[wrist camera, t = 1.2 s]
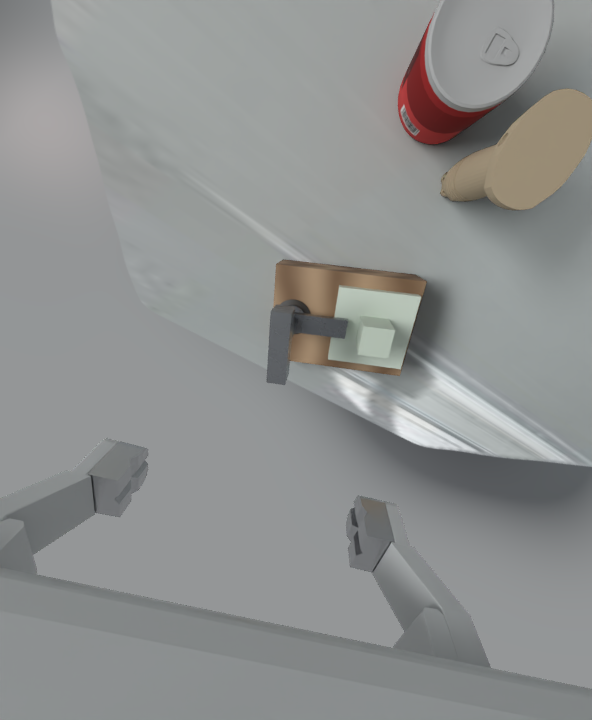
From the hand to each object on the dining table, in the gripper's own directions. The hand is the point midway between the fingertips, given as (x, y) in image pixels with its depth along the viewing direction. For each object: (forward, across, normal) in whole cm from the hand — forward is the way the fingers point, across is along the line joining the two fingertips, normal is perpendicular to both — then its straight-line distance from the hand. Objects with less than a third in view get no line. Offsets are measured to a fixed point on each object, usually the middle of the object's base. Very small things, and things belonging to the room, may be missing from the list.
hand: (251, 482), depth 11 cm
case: (+31, -6, 0) cm, 32 cm away
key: (+26, -2, +1) cm, 26 cm away
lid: (+26, -9, 0) cm, 27 cm away
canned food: (+31, -9, -23) cm, 40 cm away
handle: (+31, -14, -17) cm, 38 cm away
